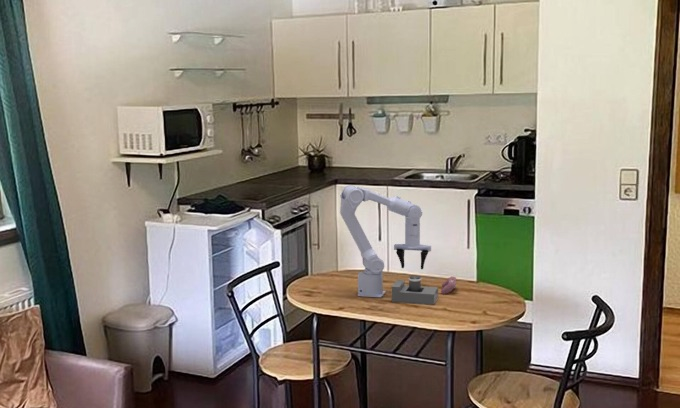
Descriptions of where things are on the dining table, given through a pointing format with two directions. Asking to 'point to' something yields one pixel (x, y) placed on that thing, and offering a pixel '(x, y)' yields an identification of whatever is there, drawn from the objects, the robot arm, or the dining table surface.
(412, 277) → the lens
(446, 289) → the pink rounded piece
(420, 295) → the camera body
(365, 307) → the dining table surface
